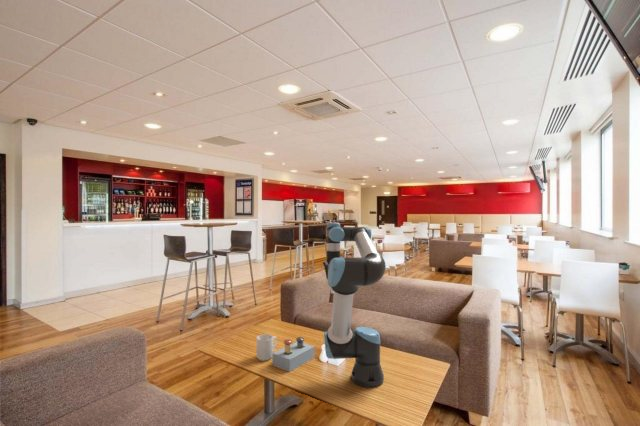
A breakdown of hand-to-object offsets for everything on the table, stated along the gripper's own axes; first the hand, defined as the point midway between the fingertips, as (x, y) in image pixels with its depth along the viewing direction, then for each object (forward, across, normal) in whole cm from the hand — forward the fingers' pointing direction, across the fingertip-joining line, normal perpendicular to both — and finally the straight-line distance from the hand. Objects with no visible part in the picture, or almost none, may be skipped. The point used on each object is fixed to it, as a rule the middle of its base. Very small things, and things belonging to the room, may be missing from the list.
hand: (333, 292), depth 178 cm
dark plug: (+33, +12, +14) cm, 38 cm away
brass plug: (+31, +12, +24) cm, 41 cm away
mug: (+35, +27, +24) cm, 50 cm away
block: (+34, +12, +19) cm, 41 cm away
